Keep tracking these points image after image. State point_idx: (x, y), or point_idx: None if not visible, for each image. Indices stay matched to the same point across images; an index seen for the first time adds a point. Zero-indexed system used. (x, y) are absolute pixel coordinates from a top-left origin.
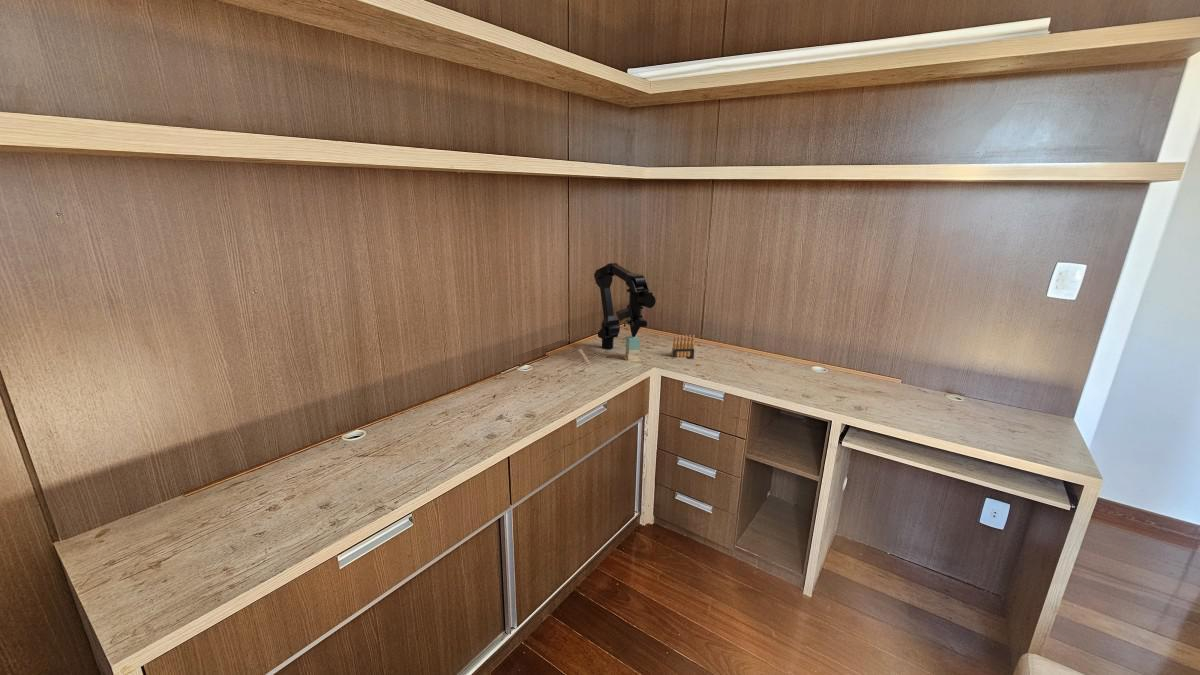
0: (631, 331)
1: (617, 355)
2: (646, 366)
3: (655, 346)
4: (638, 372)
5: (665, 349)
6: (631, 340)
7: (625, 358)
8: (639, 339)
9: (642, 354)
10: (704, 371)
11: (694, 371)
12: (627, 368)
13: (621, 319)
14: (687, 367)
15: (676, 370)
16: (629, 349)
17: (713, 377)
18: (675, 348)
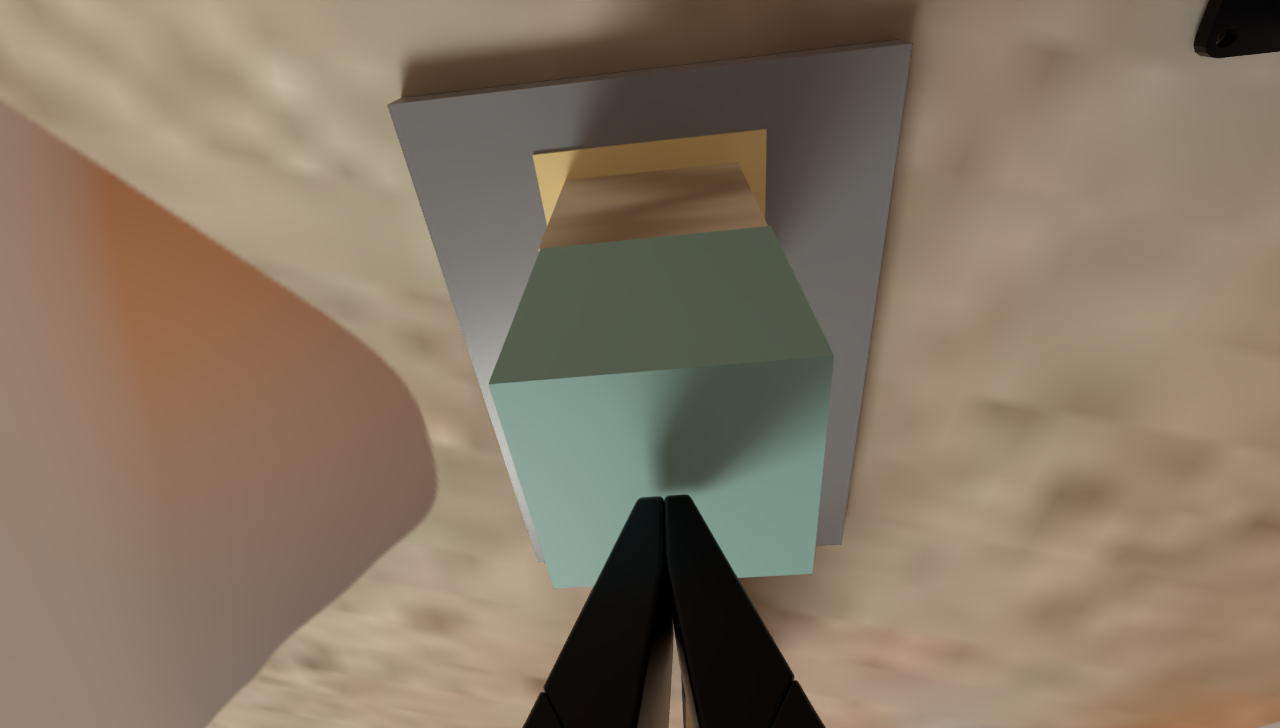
0: (678, 626)
1: (945, 52)
2: (460, 366)
3: (1086, 557)
4: (213, 236)
5: (960, 604)
6: (509, 413)
7: (667, 152)
8: (551, 573)
9: (881, 405)
10: (418, 688)
11: (403, 649)
12: (328, 110)
13: None
14: (486, 634)
15: (396, 566)
16: (542, 264)
17: (311, 699)
18: (687, 714)
